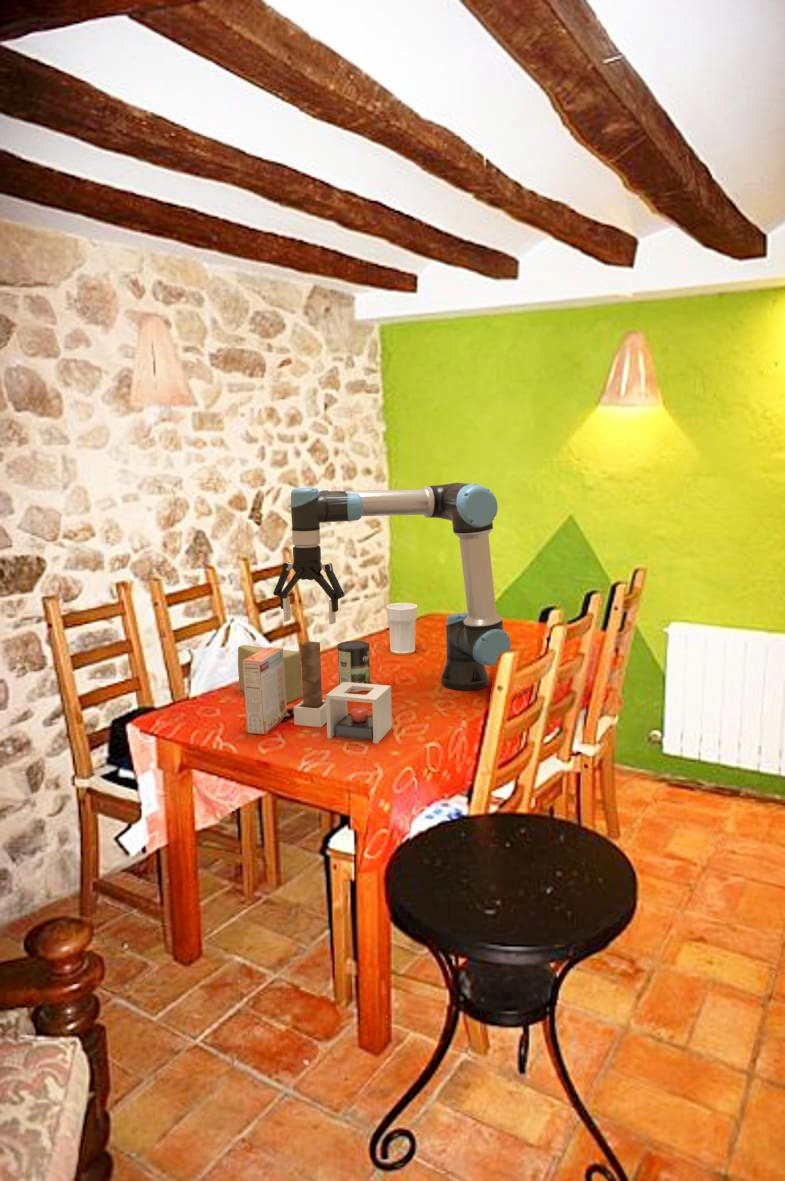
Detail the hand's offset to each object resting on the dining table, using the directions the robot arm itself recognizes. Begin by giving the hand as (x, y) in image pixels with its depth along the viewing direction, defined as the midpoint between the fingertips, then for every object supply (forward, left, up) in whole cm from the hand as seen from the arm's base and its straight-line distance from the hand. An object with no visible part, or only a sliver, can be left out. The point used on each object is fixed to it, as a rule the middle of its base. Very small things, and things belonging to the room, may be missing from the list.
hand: (309, 622), depth 221 cm
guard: (-16, +5, -29) cm, 33 cm away
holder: (0, 0, -29) cm, 29 cm away
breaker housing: (-16, +5, -29) cm, 33 cm away
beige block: (+24, -17, -29) cm, 41 cm away
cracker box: (+11, +7, -29) cm, 32 cm away
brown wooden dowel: (0, 0, -28) cm, 28 cm away
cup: (-2, -76, -29) cm, 81 cm away
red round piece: (-16, +5, -28) cm, 33 cm away
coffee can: (0, -32, -29) cm, 43 cm away
